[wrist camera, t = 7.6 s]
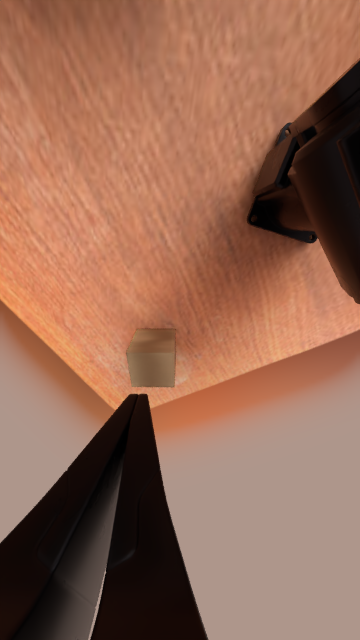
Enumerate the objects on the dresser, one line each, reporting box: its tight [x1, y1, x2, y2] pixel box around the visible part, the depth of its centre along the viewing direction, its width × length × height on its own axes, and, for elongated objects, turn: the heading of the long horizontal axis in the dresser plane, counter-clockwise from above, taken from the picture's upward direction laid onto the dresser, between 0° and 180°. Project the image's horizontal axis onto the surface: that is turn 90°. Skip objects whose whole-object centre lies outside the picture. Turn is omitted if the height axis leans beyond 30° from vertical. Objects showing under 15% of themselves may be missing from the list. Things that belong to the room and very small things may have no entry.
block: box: [126, 329, 176, 387], centre depth 20 cm, size 4×4×4 cm
